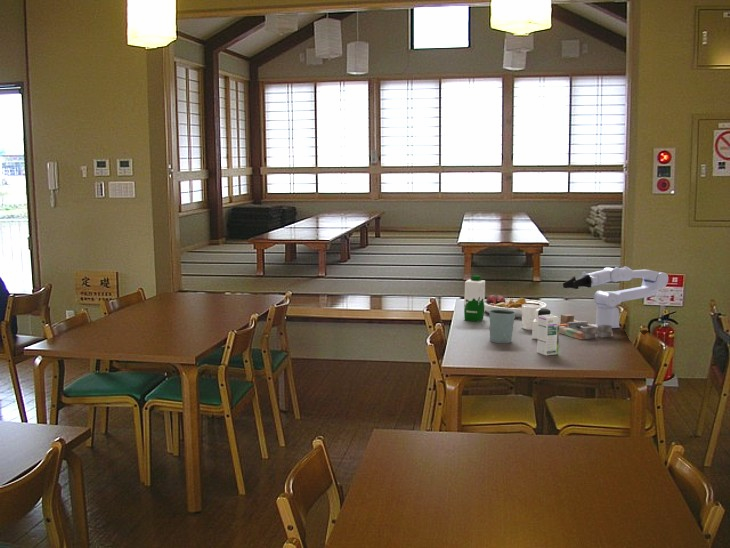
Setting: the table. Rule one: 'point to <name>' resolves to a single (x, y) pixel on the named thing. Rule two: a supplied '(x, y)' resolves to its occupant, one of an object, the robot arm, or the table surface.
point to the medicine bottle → (535, 323)
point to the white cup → (528, 315)
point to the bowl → (509, 304)
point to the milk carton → (474, 299)
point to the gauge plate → (575, 325)
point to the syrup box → (548, 334)
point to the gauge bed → (588, 331)
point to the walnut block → (566, 318)
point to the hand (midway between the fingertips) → (568, 285)
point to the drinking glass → (501, 325)
